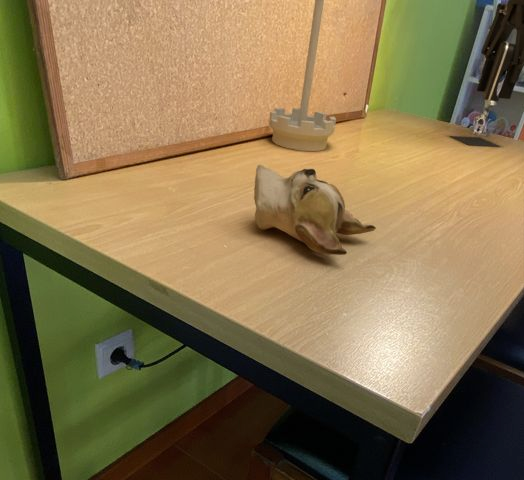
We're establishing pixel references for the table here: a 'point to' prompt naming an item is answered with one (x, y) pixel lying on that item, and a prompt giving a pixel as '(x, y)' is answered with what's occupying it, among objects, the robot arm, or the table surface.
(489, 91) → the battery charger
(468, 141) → the mat
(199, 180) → the table surface
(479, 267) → the table surface
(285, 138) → the flag stand
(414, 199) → the table surface
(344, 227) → the ceramic sculpture
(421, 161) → the table surface
